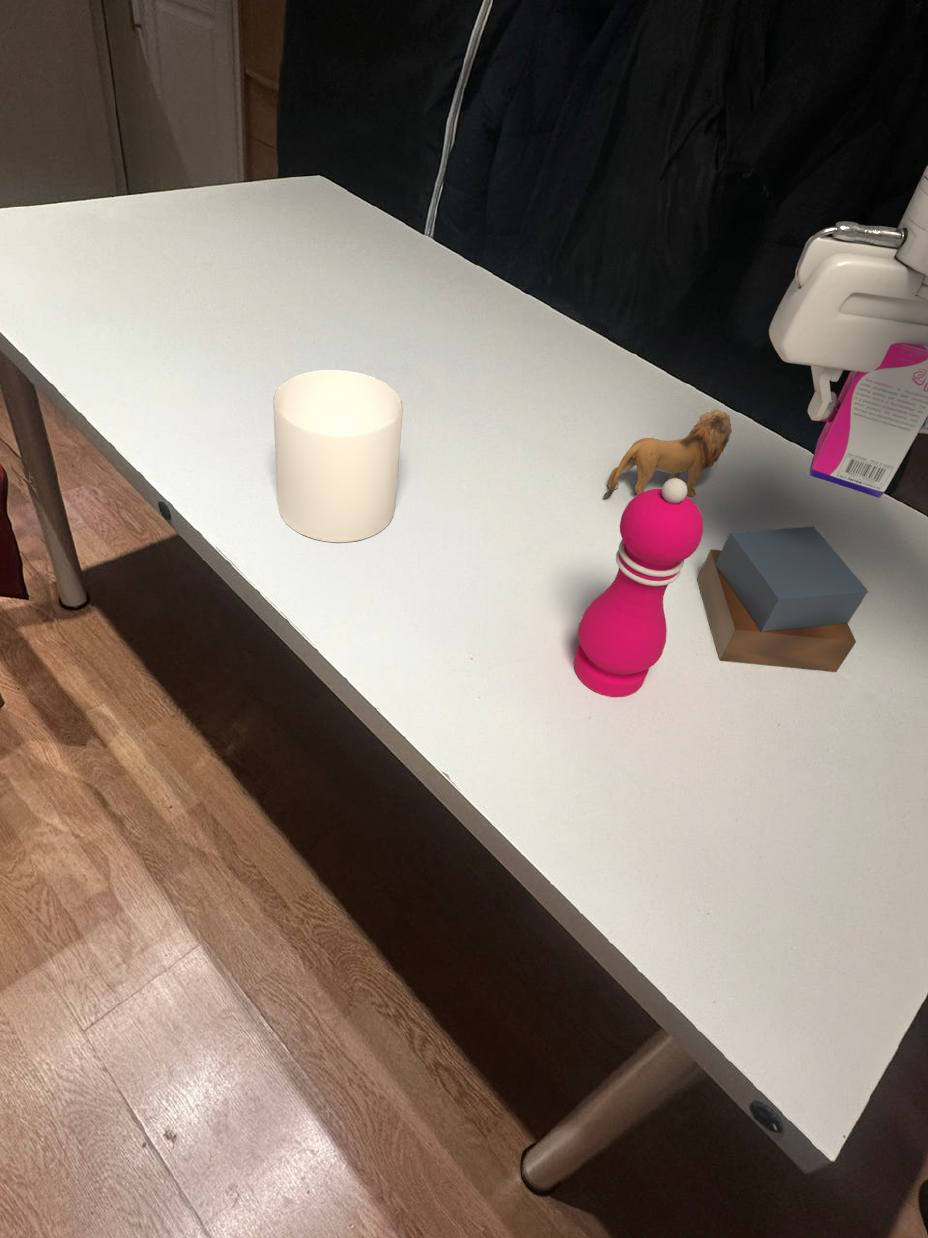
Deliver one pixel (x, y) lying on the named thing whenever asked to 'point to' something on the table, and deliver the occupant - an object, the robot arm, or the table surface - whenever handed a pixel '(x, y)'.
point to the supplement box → (875, 422)
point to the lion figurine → (677, 453)
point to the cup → (337, 454)
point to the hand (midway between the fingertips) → (871, 424)
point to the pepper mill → (638, 591)
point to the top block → (789, 578)
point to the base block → (773, 648)
